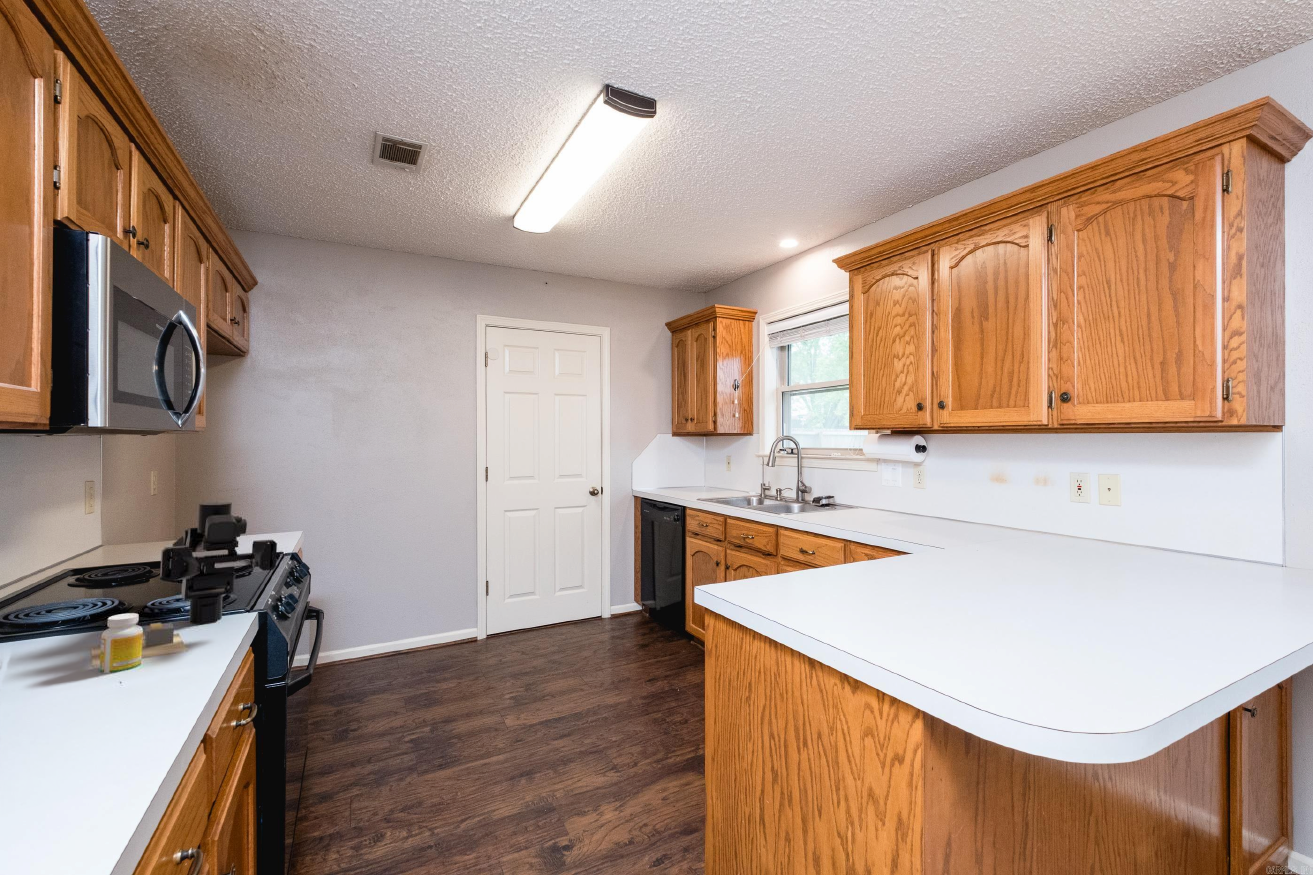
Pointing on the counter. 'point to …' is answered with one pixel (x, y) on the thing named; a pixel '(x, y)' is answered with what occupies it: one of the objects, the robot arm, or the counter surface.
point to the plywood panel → (147, 649)
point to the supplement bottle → (121, 644)
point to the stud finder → (159, 634)
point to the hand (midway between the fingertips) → (228, 566)
